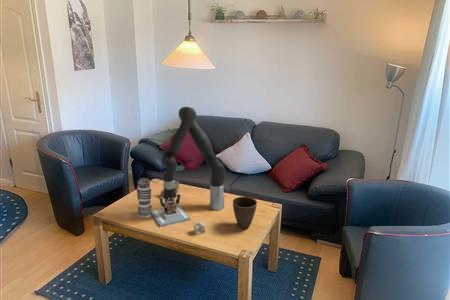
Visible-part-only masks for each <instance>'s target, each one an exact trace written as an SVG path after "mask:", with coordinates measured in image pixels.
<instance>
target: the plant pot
mask: <svg viewBox="0 0 450 300" xmlns="http://www.w3.org/2000/svg"><path fill="white" fill-rule="evenodd" d="M257 205H258V201H257V200H256V199H255V198H254V197H253V198H252V197H250V196H238V197H235V198H233V200H232V207H233V213H234V217H235V221H236V223H237V226H238V227H240V228H241V229H247V228H248V229H249V227H250V226H251V224H252V222H253V219H254V217H255V215H256V210H257Z"/></svg>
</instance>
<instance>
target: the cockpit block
mask: <svg viewBox="0 0 450 300" xmlns="http://www.w3.org/2000/svg"><path fill="white" fill-rule="evenodd" d="M193 232H194V233H195V234H196V236H199V235H202V234H205V233H206V225H205V224H204V222H202V221H200V222H196V223H193Z"/></svg>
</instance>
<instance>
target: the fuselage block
mask: <svg viewBox="0 0 450 300" xmlns="http://www.w3.org/2000/svg"><path fill="white" fill-rule="evenodd" d="M166 213H167V214H168V215H170V214H175V204H174V203H173V201H170V202H168V204H167V212H166Z"/></svg>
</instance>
